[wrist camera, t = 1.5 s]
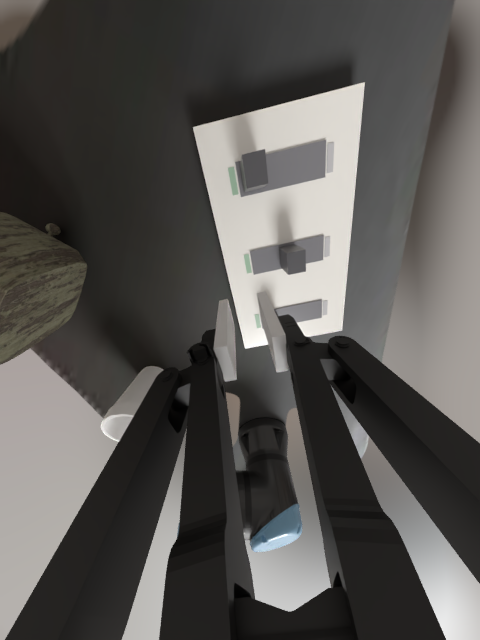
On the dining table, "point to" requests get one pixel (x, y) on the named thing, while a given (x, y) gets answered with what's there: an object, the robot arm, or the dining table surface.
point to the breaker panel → (287, 206)
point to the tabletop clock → (35, 284)
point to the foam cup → (128, 403)
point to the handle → (254, 170)
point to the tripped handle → (293, 259)
